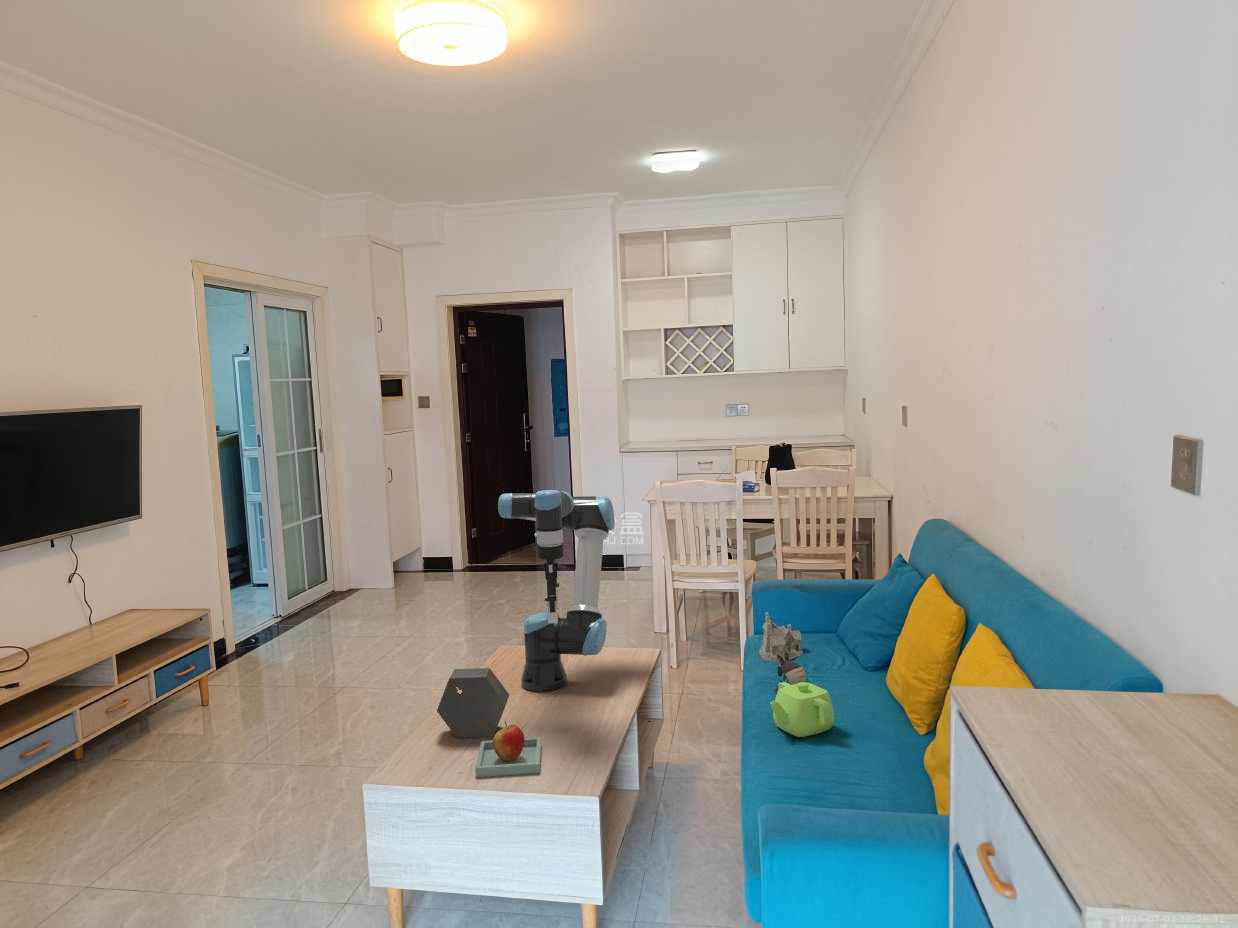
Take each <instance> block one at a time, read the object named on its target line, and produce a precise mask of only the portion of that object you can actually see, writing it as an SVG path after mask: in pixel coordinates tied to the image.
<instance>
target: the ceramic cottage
mask: <svg viewBox="0 0 1238 928" xmlns="http://www.w3.org/2000/svg"><path fill="white" fill-rule="evenodd" d="M764 615H765V622H764V624H763V625H762V629H763V636H762V637H763V638H762V641H761V642H762V643H761V644H762V645H761V647H760V648H759V650H758V653H759V655H760V657H761V658H762V660H763V661H766V662H772V663H780V662H779V660H778V658H777V655H779V656H781V657H782V658H783V660H784V661H785V658H784V655H785V653H786V652H787V653H788V655H789V661H791V660H792V659H794V658H797V657H800V656H801V655H803V654H804V651H803V650H804V649H802V646H803V645H802V644H803V640H802V634H801V631H800V630H792V624H787V627H785V626H784V625H782V626H778V624H776V623H774V622H773V621H772V620H771V618H770V614H769V612H765V613H764Z"/></svg>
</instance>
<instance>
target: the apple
mask: <svg viewBox="0 0 1238 928" xmlns="http://www.w3.org/2000/svg"><path fill="white" fill-rule="evenodd" d="M504 724H505V727H504V728H501V729H499V730H498V731H497V732H495V734H494V736H493V737H492V738H493V739H492V741H493V747H494V750H495V752H496V754H497V756H498V757H499V758H500V759H502V760H504V761H513V760H515V759H516V758H518V757H519V755H520V754H521V752H522V750H523V747H524V740H525V739H524V738H525V734H524V731H522V729H521V728H520V726H518V725H516V724H510V725H507V721H504Z"/></svg>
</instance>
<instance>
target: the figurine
mask: <svg viewBox="0 0 1238 928" xmlns="http://www.w3.org/2000/svg"><path fill="white" fill-rule="evenodd" d="M777 658H778V660H779V662H778V664H777V668H776V671H777V676H778V677H782V675H783V678H782V679H781V680H780V679H779V683H782V682H786V683H788V684H790V685H794V684H797V683H800V682H805V683H811V684H813V685H814V683H813V680H812V678H811V677H807V674H806V672H805V671H806V670H804V668H803V667H802V666H801V665H800V664H799V663H797V662H796V661H792V660H789V655H788V653H787V652H786V653H785V655H784V658H785V661H784V660H783V658H782V657H781V656H779V655H777ZM785 680H786V681H785ZM774 692H775V694H776V695H777V692H778V686H776V687H775V689H774Z"/></svg>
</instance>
